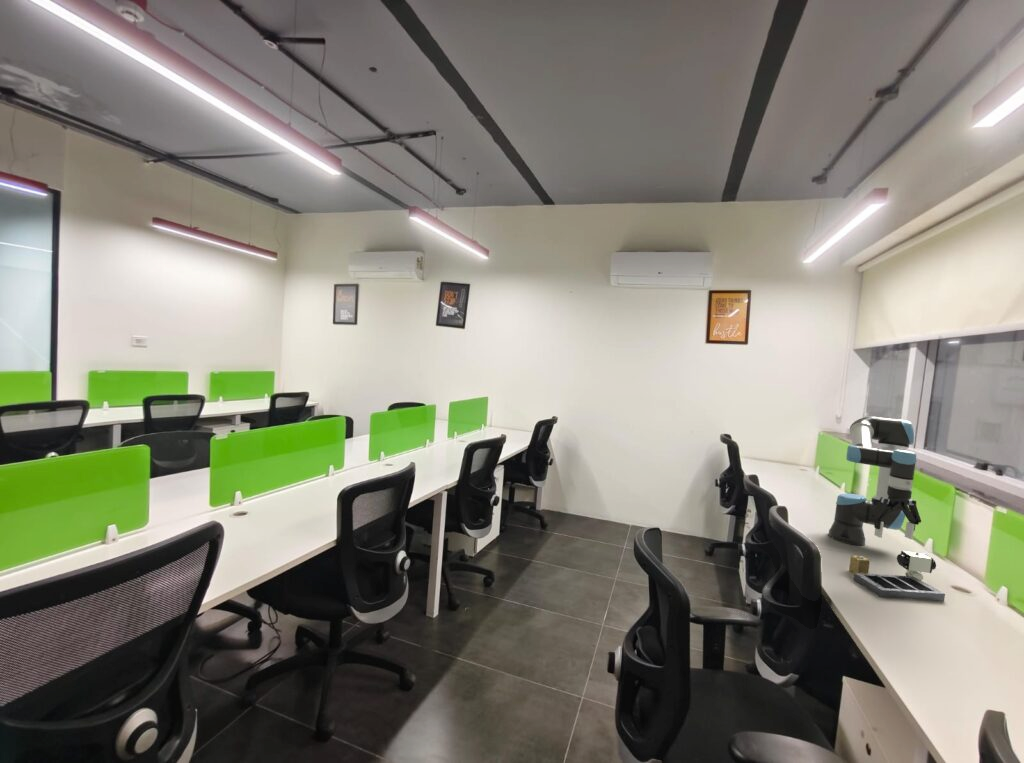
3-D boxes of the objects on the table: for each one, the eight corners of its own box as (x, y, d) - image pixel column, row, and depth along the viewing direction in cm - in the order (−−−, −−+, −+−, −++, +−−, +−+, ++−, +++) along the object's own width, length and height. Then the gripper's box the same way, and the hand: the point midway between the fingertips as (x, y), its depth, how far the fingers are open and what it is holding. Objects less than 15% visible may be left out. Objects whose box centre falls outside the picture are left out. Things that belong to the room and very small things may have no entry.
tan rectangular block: (849, 570, 188) (851, 553, 188) (859, 571, 188) (861, 554, 188) (857, 576, 184) (859, 558, 183) (867, 576, 184) (870, 559, 183)
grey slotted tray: (853, 579, 180) (854, 572, 180) (912, 583, 180) (913, 576, 180) (880, 597, 167) (881, 589, 167) (944, 601, 167) (945, 593, 167)
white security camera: (933, 584, 181) (937, 556, 180) (901, 579, 183) (905, 552, 182) (924, 578, 186) (928, 551, 185) (892, 573, 188) (896, 546, 188)
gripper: (879, 488, 176) (873, 539, 177) (937, 492, 178) (930, 542, 179) (863, 483, 184) (857, 532, 185) (919, 486, 185) (912, 535, 186)
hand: (893, 537), depth 182 cm, fingers open, 13 cm apart
